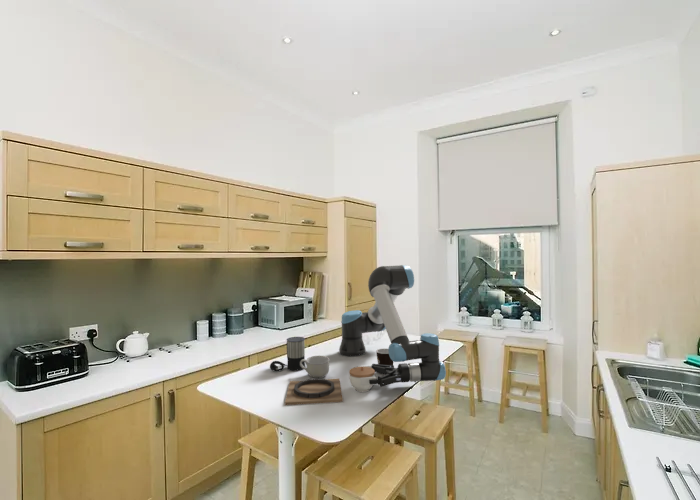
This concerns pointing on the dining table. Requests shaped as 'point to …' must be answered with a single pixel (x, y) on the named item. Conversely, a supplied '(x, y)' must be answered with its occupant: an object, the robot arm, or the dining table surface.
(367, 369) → the lidded jar
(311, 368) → the teacup
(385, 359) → the coffee mug
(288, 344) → the milk frother
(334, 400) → the locating board
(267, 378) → the dining table surface
